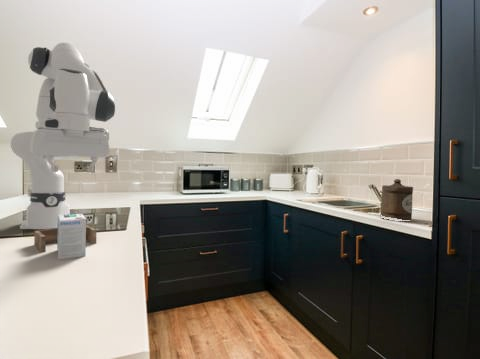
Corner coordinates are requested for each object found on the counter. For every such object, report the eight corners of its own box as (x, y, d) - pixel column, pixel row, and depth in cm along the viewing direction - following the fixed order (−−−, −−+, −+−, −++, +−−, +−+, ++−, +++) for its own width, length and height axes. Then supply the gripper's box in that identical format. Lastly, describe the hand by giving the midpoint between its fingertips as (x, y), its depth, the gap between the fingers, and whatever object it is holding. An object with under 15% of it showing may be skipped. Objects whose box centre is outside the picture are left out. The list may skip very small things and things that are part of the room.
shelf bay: (34, 244, 88) (34, 230, 88) (86, 237, 99) (85, 224, 99) (41, 252, 81) (41, 237, 81) (96, 243, 92) (96, 229, 92)
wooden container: (411, 223, 141) (413, 180, 141) (379, 219, 149) (380, 178, 148) (411, 219, 154) (413, 179, 153) (381, 216, 162) (383, 178, 161)
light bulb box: (57, 250, 84) (56, 214, 83) (82, 247, 87) (82, 213, 87) (58, 260, 75) (58, 220, 74) (86, 256, 79) (86, 218, 78)
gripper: (105, 129, 92) (105, 171, 93) (28, 121, 77) (29, 171, 78) (112, 128, 88) (112, 171, 88) (32, 120, 73) (34, 172, 74)
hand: (73, 171), depth 83 cm, fingers open, 8 cm apart
